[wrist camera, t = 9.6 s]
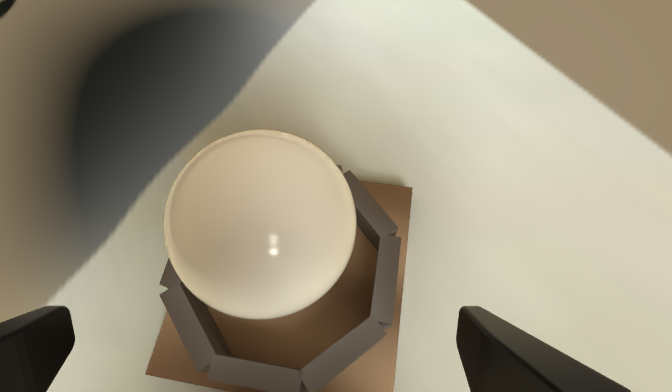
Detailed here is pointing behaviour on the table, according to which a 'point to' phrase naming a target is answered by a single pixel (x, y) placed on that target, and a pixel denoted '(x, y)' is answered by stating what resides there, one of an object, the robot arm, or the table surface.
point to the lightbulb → (260, 224)
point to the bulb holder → (302, 319)
